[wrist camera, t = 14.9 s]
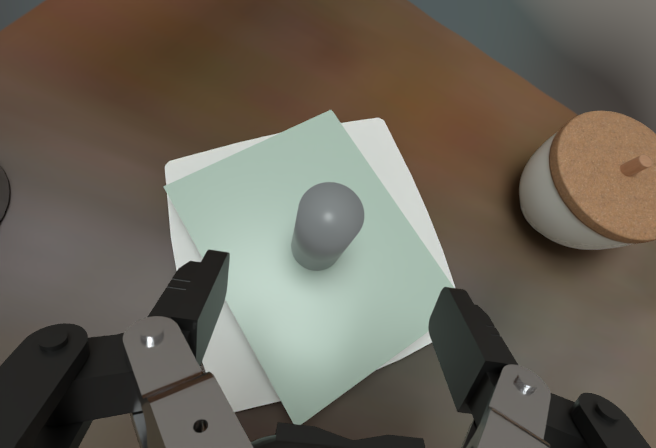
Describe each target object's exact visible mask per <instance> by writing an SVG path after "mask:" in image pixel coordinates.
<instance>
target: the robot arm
mask: <svg viewBox="0 0 656 448" xmlns="http://www.w3.org/2000/svg"><path fill="white" fill-rule="evenodd" d="M9 193H10V191H9V184H8V179H7V177H6V175H5V173H4V170H3V169H2V168H1V167H0V220H1V219H2V217H3V216H4V213H5V210H6V208H7V205H8V200H9ZM229 261H230V253H229V252H223V251H216V250H210V249H208V250H207V252H206V254H205V255H204V257H203V259H202V261H201V262H195V261H189V262H187V263H186V264H184V265H183V266H181V267H180V268H179V269H178V270H177V272H176V273H175V275H174V276H173V279H172V280H171V281H170V283H169V284H168V286H167V288H166V289H165V291H164V292H163V294H162V295H161V297H160V298H159V300H158V302H157V303H156V305H155V306H154V308H153V309H152V311H151V313H150V314H149V316H148V317H147V318H143V319H140V320H138V321H136V322H135V323H133V324H132V325H130V326H129V327H128V328H127V329H126V331H125V333H121V334H117V335H110V336H101V337H91V338H88V336H87V332H86V331H85V330H84V329H83V328H82V327H80V326H78V325H75V324H56V325H51V326H48V327H45V328H42V329H40V330H38V331H36V332H34V333H32V334H31V335H29V336H28V337H27V338H26V339H25V340H24V341H23V342H22V343H21V344H20V345H19V346H18V347H17V348H16V349H15V350H14V352H13V353H12V354H11V355H10V356H9V357H8V358H7V359H6V360H5V361H4V363H3V364H2V365H1V366H0V448H78V447H79V445H80V443H81V441H82V439H83V438H84V436H85V434H86V432H87V430H88V428H89V426H90V425H91V423H92V421H93V420H94V419H100V418H105V417H111V416H116V415H122V414H127V413H129V414H130V417H131V420H132V423H133V427H134V430H135V433H136V436H137V440H138V443H139V446H140V448H425V444H424V440H423V439H422V438H413V437H404V436H395V435H384V436H378V437H372V438H366V439H360V440H350V439H347V438H344V437H341V436H339V435H336V434H333V433H331V432H328V431H325V430H323V429H320V428H317V427H315V426H306V425H297V424H288V423H279V422H278V424H277V429H276V433H275V435H272V436H267V437H263V438H260V439H257V440H255V441H253V442H250V441H249V439H248V437H247V435H246V433H245V431H244V429H243V428H242V426H241V424H240V422H239V420H238V418H237V417H236V415H235V413H234V411H233V409H232V407H231V406H230V404H229V402H228V400H227V398H226V396H225V394H224V393H223V391H222V389H221V387H220V385H219V383H218V382H217V380H216V378H215V376H214V375H213V374H212V373H211V372H206V373H203V372H202V370H201V368H200V365H201V363H202V360H203V357H204V355H205V352H206V349H207V347H208V344H209V342H210V339H211V336H212V334H213V331H214V328H215V326H216V323H217V320H218V318H219V315H220V312H221V310H222V307H223V304H224V301H225V297H226V292H227V284H228V272H229ZM428 330H429V335H430V338H431V341H432V343H433V346H434V349H435V351H436V354H437V357H438V360H439V362H440V365H441V368H442V371H443V373H444V376H445V379H446V382H447V384H448V387H449V390H450V393H451V395H452V398H453V401H454V404H455V406H456V409H457V412H461V413H469V414H472V415H473V418H474V419H473V421H472V423H471V425H470V427H469V429H468V432H467V434H466V437H465V439H464V441H463V444H462V446H461V448H651V447H650V446H649V444H648V443H647V442H646V440H645V439H644V438H643V436H642V435H641V434H640V433H639V431H638V430H637V429H636V427H635V426H634V425H633V423H632V422H631V421H630V419H629V418H628V417H627V416H626V414H625V413H624V412H623V411H622V410H621V409H619V408H618V407H617V406H616V405H614V404H613V403H612V402H610V401H609V400H607V399H605V398H603V397H601V396H599V395H596V394H592V393H583V394H581V395H580V396H579V398H578V399H577V400H576V402H573V401H570V400H567V399H565V398H562V397H560V396H557V395H555V394H552V393H550V390H549V388H548V387H547V385H546V384H545V382H544V381H543V380H542V379H541V378H540V377H539V376H538V375H536V374H535V373H534V372H532V371H530V370H529V369H527V368H525V367H522V366H519V365H518V364H517V362H516V360H515V359H514V357H513V356H512V354H511V352H510V351H509V349H508V347H507V346H506V344H505V342H504V341H503V339H502V337H500V334H499V332H498V331H497V329H496V328H494V324H493V323H492V321H491V319H490V318H489V316H488V315H487V314H486V313H485V312H484V311H483V310H482V309H481V308H480V307H479V306H478V305H474V303H473V302H472V300H471V298H470V297H469V295H468V293H467V292H466V291H465V290H463V289H456V288H450V287H444V288H443V289H442V290H441V292H440V294H439V297H438V299H437V302H436V304H435V307H434V309H433V311H432V314H431V316H430V319H429V325H428Z"/></svg>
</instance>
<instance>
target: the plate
mask: <svg viewBox="0 0 656 448" xmlns="http://www.w3.org/2000/svg"><path fill="white" fill-rule="evenodd" d="M341 124H342V126H343V127H344V129H345V130H346V132H347V133H348V134H349V136H350V137H351V139H352V140H353V142H354V143H355V145H356V146H357V148H358V149H359V150H360V152H361V153H362V155H363V156H364V158H365V159H366V161H367V162H368V163H369V165H370V166H371V168H372V169H373V171H374V172H375V174H376V175H377V177H378V178H379V179H380V181H381V182H382V184H383V185H384V187H385V188H386V190H387V191H388V192H389V194H390V195H391V197H392V198H393V200H394V201H395V203H396V204H397V206H398V207H399V208H400V210H401V211H402V213H403V214H404V216H405V217H406V219H407V220H408V221H409V223H410V224H411V226H412V227H413V229H414V230H415V232H416V233H417V235H418V236H419V237H420V239H421V240H422V242H423V243H424V245H425V246H426V248H427V249H428V250H429V252H430V253H431V255H432V256H433V258H434V259H435V261H436V262H437V264H438V265H439V266H440V268H441V269H442V271H443V272H444V274H445V275H446V277H447V278H448V279H449V281H450V282H451V284H452V285H453V287H454V288H455V285H454V282H453V279H452V276H451V273H450V270H449V268H448V265H447V262H446V259H445V256H444V253H443V250H442V247H441V245H440V242H439V240H438V237H437V235H436V232H435V230H434V227H433V224H432V222H431V219H430V217H429V214H428V212H427V209H426V207H425V205H424V203H423V200H422V198H421V196H420V194H419V191H418V189H417V187H416V185H415V182H414V180H413V178H412V176H411V174H410V172H409V170H408V168H407V166H406V164H405V162H404V160H403V158H402V156H401V154H400V152H399V150H398V148H397V146H396V144H395V142H394V140H393V138H392V136H391V134H390V132H389V130H388V128H387V126H386V124H385V122H384V120H382V119H380V118H373V119H366V120H359V121H352V122H345V123H341ZM278 134H279V133H278ZM275 135H277V134H274V135H269V136H265V137H261V138H256V139H252V140H248V141H243V142H239V143H235V144H231V145H228V146H224V147H220V148H216V149H213V150H209V151H205V152H201V153H198V154H194V155H190V156H187V157H183V158H179V159H175V160H172V161H169V162H168V163H167V164H166V166H165V176H166V185H168V184H170V183H172V182H174V181H176V180H179V179H181V178H183V177H185V176H187V175H190V174H192V173H194V172H196V171H198V170H201V169H203V168H205V167H207V166H209V165H211V164H214V163H216V162H218V161H220V160H222V159H225V158H227V157H229V156H231V155H233V154H235V153H238V152H240V151H242V150H244V149H246V148H249V147H251V146H253V145H255V144H257V143H260V142H262V141H264V140H266V139H268V138H270V137H273V136H275ZM167 199H168V210H169V222H170V233H171V241H172V247H173V253H174V258H175V264H176V270H178V269H179V268H180V267H181V266H183V265H184V264H186V263H187V262H189V261H195V262H201V261H202V259H203V258H202V256H201V254H200V252H199V251H198V249H197V247H196V245H195V243H194V241H193V240H192V238H191V236H190V234H189V232H188V230H187V229H186V227H185V225H184V223H183V221H182V220H181V218H180V216H179V214H178V212H177V210H176V209H175V207H174V205H173V203H172V201H171V199H170V198H169V196H168V194H167ZM430 343H432V341H431V338H430V335H429V331H428V332H427V333H426V334H424V335H423V336H422V337H420V338H419V339H418V340H416V341H415V342H413V343H412V344H411V345H409V346H408V347H407V348H405V349H404V350H402V351H401V352H400V353H398V354H397V355H396V356H394V357H393V358H392V359H390V360H389V361H387V362H386V363H385V364H383V365H382V366H381V367H379V368H382V367H384V366H386V365H389V364H391V363H393V362H395V361H398V360H400V359H402V358H404V357H406V356H408V355H409V354H411V353H413V352H415V351H417V350H419V349H421V348H422V347H424V346H426V345H428V344H430ZM202 363H203V365H204V368H205V371H206V372H211V373H212V374H213V375H214V376H215V378H216V380H217V382H218V383H219V385H220V387H221V389H222V391H223V393H224V394H225V396H226V398H227V400H228V402H229V404H230V406H231V407H232V409H233V411H234V412H237V411H241V410H246V409H250V408H254V407H258V406H262V405H266V404H271V403H275V402H279V401H281V400H280V398H279V396H278V395H277V393H276V391H275V389H274V387H273V385H272V384H271V382H270V380H269V378H268V376H267V375H266V373H265V371H264V369H263V367H262V365H261V364H260V362H259V360H258V358H257V356H256V354H255V353H254V351H253V349H252V347H251V345H250V344H249V342H248V340H247V338H246V336H245V334H244V333H243V331H242V329H241V327H240V325H239V323H238V322H237V320H236V318H235V316H234V314H233V313H232V311H231V309H230V307H229V305H228V303H227V302H226V300H225V301H224V304H223V307H222V310H221V312H220V315H219V318H218V320H217V323H216V326H215V328H214V331H213V334H212V336H211V339H210V342H209V344H208V347H207V349H206V352H205V355H204V357H203V360H202ZM379 368H378V369H379Z"/></svg>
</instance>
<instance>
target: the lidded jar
mask: <svg viewBox="0 0 656 448" xmlns="http://www.w3.org/2000/svg"><path fill="white" fill-rule="evenodd" d="M519 198H520V207H521V210H522V213H523V215H524V217H525V219H526V220H527V222H528V223H529V224H530V225H531V226H532V227H533V228H534V229H535V230H536V231H538V232H539V233H541V234H542V235H544V236H545V237H546V238H548V239H550V240H552V241H553V242H556V243H558V244H561V245H564V246H566V247H571V248H576V249H583V250H602V249H610V248H618V247H623V246H627V245H632V244H636V243H645V242H649V241H653V240H656V134H655V133H654V132H653V131H651V130H650V129H649V128H648V127H646V126H645V125H643V124H642V123H640V122H638V121H636V120H634V119H633V118H630V117H627V116H625V115H623V114H619V113H615V112H609V111H591V112H587V113H583V114H581V115H578V116H576V117H575V118H573V119H572V120H571V121H569V122H568V123H566V124H565V125H564V126H563V127H562V128H561V129H560V130H559V131H558V132H557V133H555V134H554V135H553V136H552V137H550V138H549V139H548V140H547V141H545V142H544V143H543V144H542V145H541V146H540V147H539V148H538V150H537V151H536V152H535V153H534V154H533V155H532V157H531V158H530V159H529V161H528V162H527V164H526V166H525V168H524V170H523V172H522V175H521V179H520V184H519Z"/></svg>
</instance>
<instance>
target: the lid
mask: <svg viewBox="0 0 656 448" xmlns="http://www.w3.org/2000/svg"><path fill="white" fill-rule="evenodd" d="M163 187H164V189H165V190H166V192H167V194H168V196H169V198H170V199H171V201H172V203H173V205H174V207H175V209H176V210H177V212H178V214H179V216H180V218H181V220H182V221H183V223H184V225H185V227H186V229H187V230H188V232H189V234H190V236H191V238H192V240H193V241H194V243H195V245H196V247H197V249H198V251H199V252H200V254H201V256H202V258H203V257H204V255H205V254H206V252H207V250H208V249H210V250H216V251H223V252H229V253H230V261H229V272H228V284H227V292H226V297H225V300H226V302H227V303H228V305H229V307H230V309H231V311H232V313H233V314H234V316H235V318H236V320H237V322H238V323H239V325H240V327H241V329H242V331H243V333H244V334H245V336H246V338H247V340H248V342H249V344H250V345H251V347H252V349H253V351H254V353H255V354H256V356H257V358H258V360H259V362H260V364H261V365H262V367H263V369H264V371H265V373H266V375H267V376H268V378H269V380H270V382H271V384H272V385H273V387H274V389H275V391H276V393H277V395H278V396H279V398H280V400H281V402H282V404H283V406H284V407H285V409H286V411H287V413H288V415H289V417H290V418H291V420H292V422H293V424H297V425H301V424H303V423H304V422H305V421H307V420H308V419H310V418H311V417H312V416H314V415H315V414H316V413H318V412H319V411H320V410H322V409H323V408H325V407H326V406H327V405H329V404H330V403H331V402H333V401H334V400H336V399H337V398H338V397H340V396H341V395H342V394H344V393H345V392H346V391H348V390H349V389H351V388H352V387H353V386H355V385H356V384H357V383H359V382H360V381H361V380H363V379H364V378H366V377H367V376H368V375H370V374H371V373H372V372H374V371H375V370H377V369H378V368H379V367H381V366H382V365H383V364H385V363H386V362H387V361H389V360H390V359H392V358H393V357H394V356H396V355H397V354H398V353H400V352H401V351H402V350H404V349H405V348H407V347H408V346H409V345H411V344H412V343H413V342H415V341H416V340H418V339H419V338H420V337H422V336H423V335H424V334H426V333H427V332H428V331H429V330H428V325H429V319H430V316H431V314H432V311H433V309H434V307H435V304H436V302H437V299H438V297H439V294H440V292H441V290H442V289H443V288H444V287H450V288H454V287H453V285H452V284H451V282H450V281H449V279H448V278H447V277H446V275H445V274H444V272H443V271H442V269H441V268H440V266H439V265H438V264H437V262H436V261H435V259H434V258H433V256H432V255H431V253H430V252H429V250H428V249H427V248H426V246H425V245H424V243H423V242H422V240H421V239H420V237H419V236H418V235H417V233H416V232H415V230H414V229H413V227H412V226H411V224H410V223H409V221H408V220H407V219H406V217H405V216H404V214H403V213H402V211H401V210H400V208H399V207H398V206H397V204H396V203H395V201H394V200H393V198H392V197H391V195H390V194H389V192H388V191H387V190H386V188H385V187H384V185H383V184H382V182H381V181H380V179H379V178H378V177H377V175H376V174H375V172H374V171H373V169H372V168H371V166H370V165H369V163H368V162H367V161H366V159H365V158H364V156H363V155H362V153H361V152H360V150H359V149H358V148H357V146H356V145H355V143H354V142H353V140H352V139H351V137H350V136H349V134H348V133H347V132H346V130H345V129H344V127H343V126H342V124H341V123H340V121H339V120H338V119H337V117H336V116H335V114H334V113H333V111H332V110H329V111H327V112H325V113H323V114H321V115H319V116H316V117H314V118H312V119H310V120H308V121H305V122H303V123H301V124H299V125H297V126H294V127H292V128H290V129H288V130H286V131H284V132H281V133H279V134H277V135H275V136H273V137H270V138H268V139H266V140H264V141H262V142H260V143H257V144H255V145H253V146H251V147H249V148H246V149H244V150H242V151H240V152H238V153H235V154H233V155H231V156H229V157H227V158H225V159H222V160H220V161H218V162H216V163H214V164H211V165H209V166H207V167H205V168H203V169H201V170H198V171H196V172H194V173H192V174H190V175H187V176H185V177H183V178H181V179H179V180H176V181H174V182H172V183H170V184H168V185H166V186H163Z"/></svg>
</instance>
